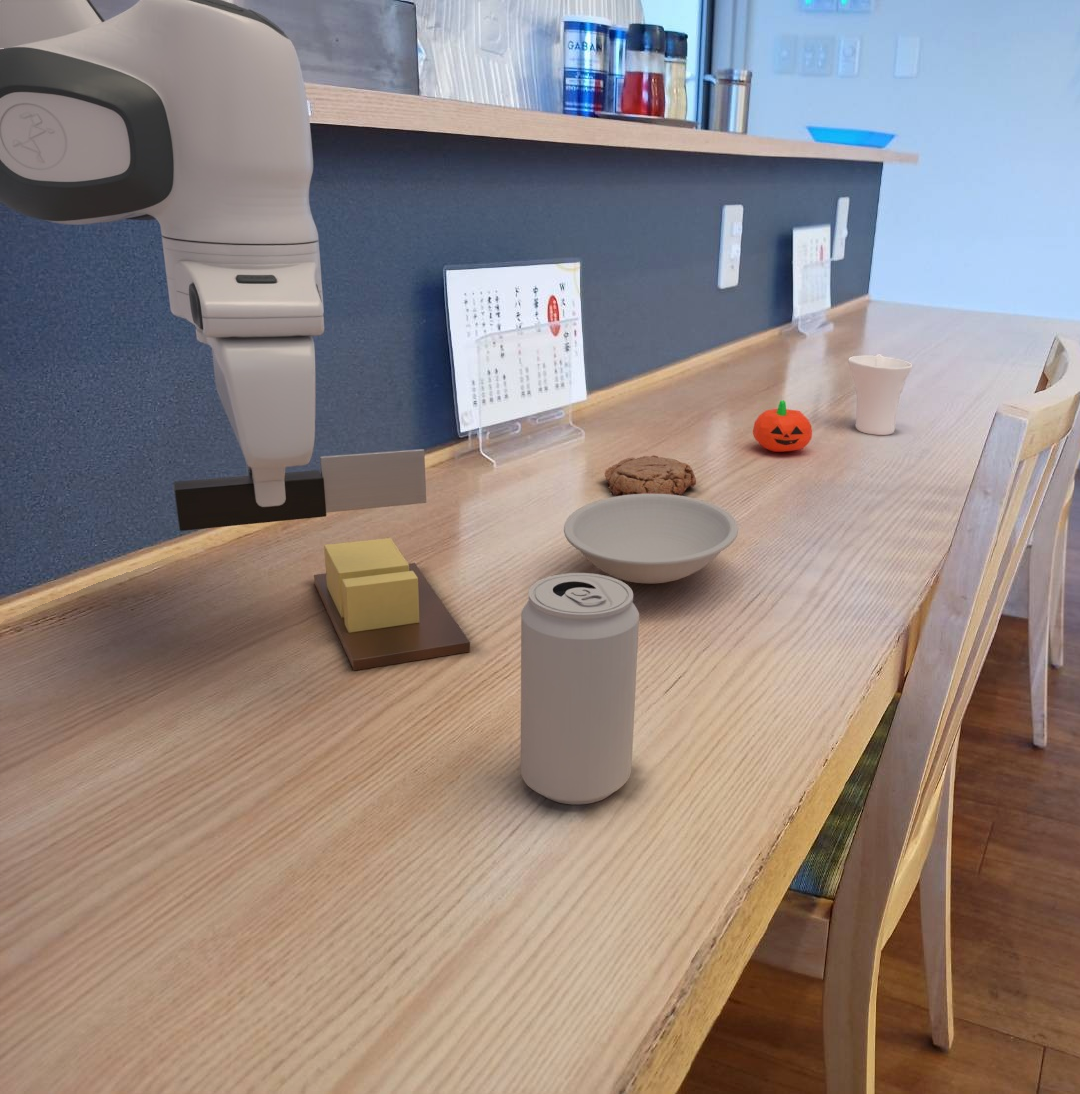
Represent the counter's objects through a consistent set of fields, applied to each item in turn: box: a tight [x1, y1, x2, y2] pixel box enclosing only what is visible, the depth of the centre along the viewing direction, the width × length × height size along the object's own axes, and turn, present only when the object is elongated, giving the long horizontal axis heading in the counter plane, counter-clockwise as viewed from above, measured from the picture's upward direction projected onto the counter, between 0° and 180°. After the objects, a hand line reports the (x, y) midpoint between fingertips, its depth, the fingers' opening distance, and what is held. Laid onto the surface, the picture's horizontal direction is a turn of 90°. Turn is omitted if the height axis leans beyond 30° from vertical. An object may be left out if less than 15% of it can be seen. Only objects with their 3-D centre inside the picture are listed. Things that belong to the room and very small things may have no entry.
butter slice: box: [342, 571, 419, 633], centre depth 75 cm, size 5×2×4 cm, turn 119°
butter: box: [323, 537, 410, 618], centre depth 79 cm, size 5×6×4 cm
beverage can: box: [519, 572, 640, 805], centre depth 58 cm, size 6×6×12 cm
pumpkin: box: [752, 399, 813, 453], centre depth 131 cm, size 7×8×6 cm
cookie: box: [604, 454, 697, 497], centre depth 113 cm, size 10×11×3 cm
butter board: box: [313, 562, 471, 671], centre depth 79 cm, size 8×16×1 cm, turn 29°
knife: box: [172, 448, 427, 532], centre depth 71 cm, size 16×2×4 cm, turn 119°
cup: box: [847, 353, 914, 436], centre depth 145 cm, size 9×9×10 cm
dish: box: [563, 494, 739, 584], centre depth 89 cm, size 18×14×5 cm
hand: (267, 495), depth 70 cm, fingers closed on knife, 2 cm apart
